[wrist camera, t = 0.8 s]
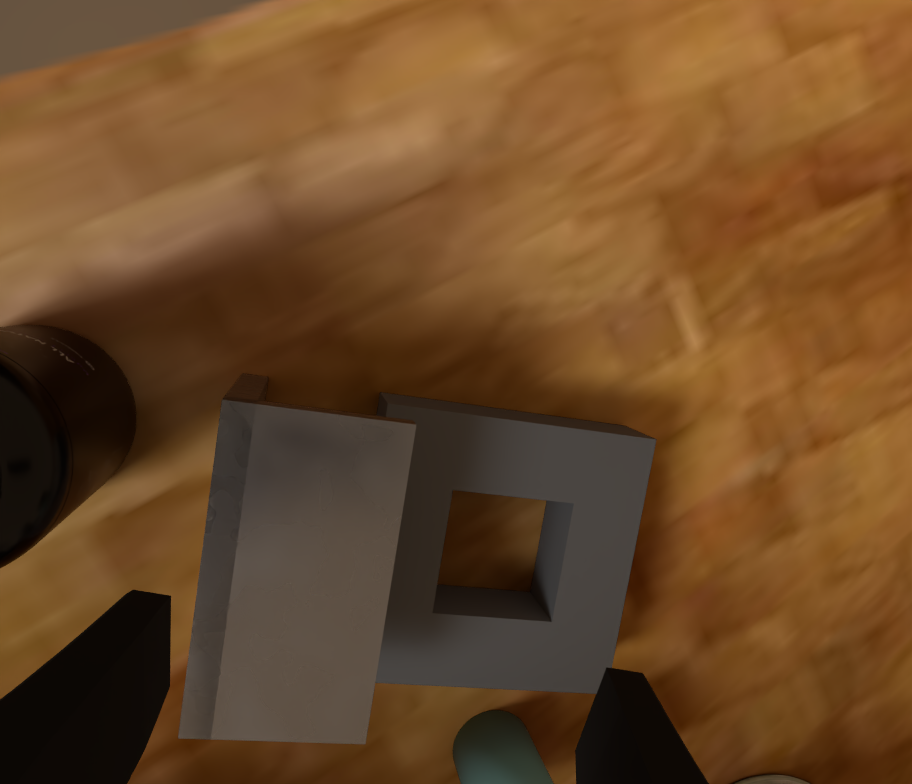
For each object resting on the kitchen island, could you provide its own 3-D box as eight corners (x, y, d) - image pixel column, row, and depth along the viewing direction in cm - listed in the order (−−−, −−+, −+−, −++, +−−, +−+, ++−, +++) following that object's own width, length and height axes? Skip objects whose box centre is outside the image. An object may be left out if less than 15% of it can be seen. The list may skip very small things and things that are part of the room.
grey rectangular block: (353, 645, 31) (365, 744, 24) (207, 636, 30) (178, 738, 23) (392, 393, 30) (416, 424, 23) (242, 373, 29) (222, 399, 22)
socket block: (580, 659, 34) (606, 694, 31) (341, 644, 31) (344, 681, 28) (625, 425, 32) (656, 439, 29) (380, 392, 30) (387, 403, 27)
